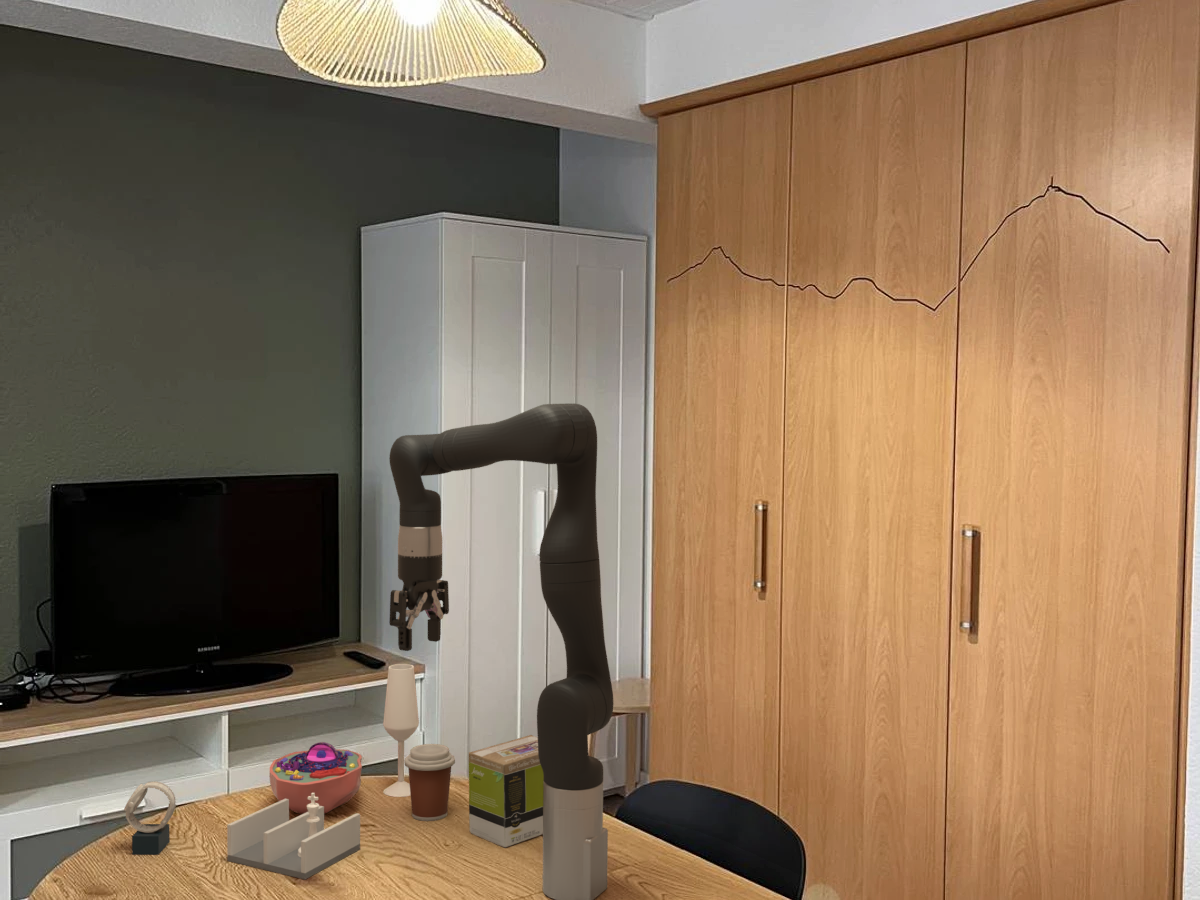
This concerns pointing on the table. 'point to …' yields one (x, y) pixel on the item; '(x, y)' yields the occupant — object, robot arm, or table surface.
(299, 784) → the cell model
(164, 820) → the watch
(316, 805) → the chess piece
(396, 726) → the champagne flute
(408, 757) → the coffee cup
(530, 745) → the tea box
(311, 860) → the slot rack
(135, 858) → the table surface
